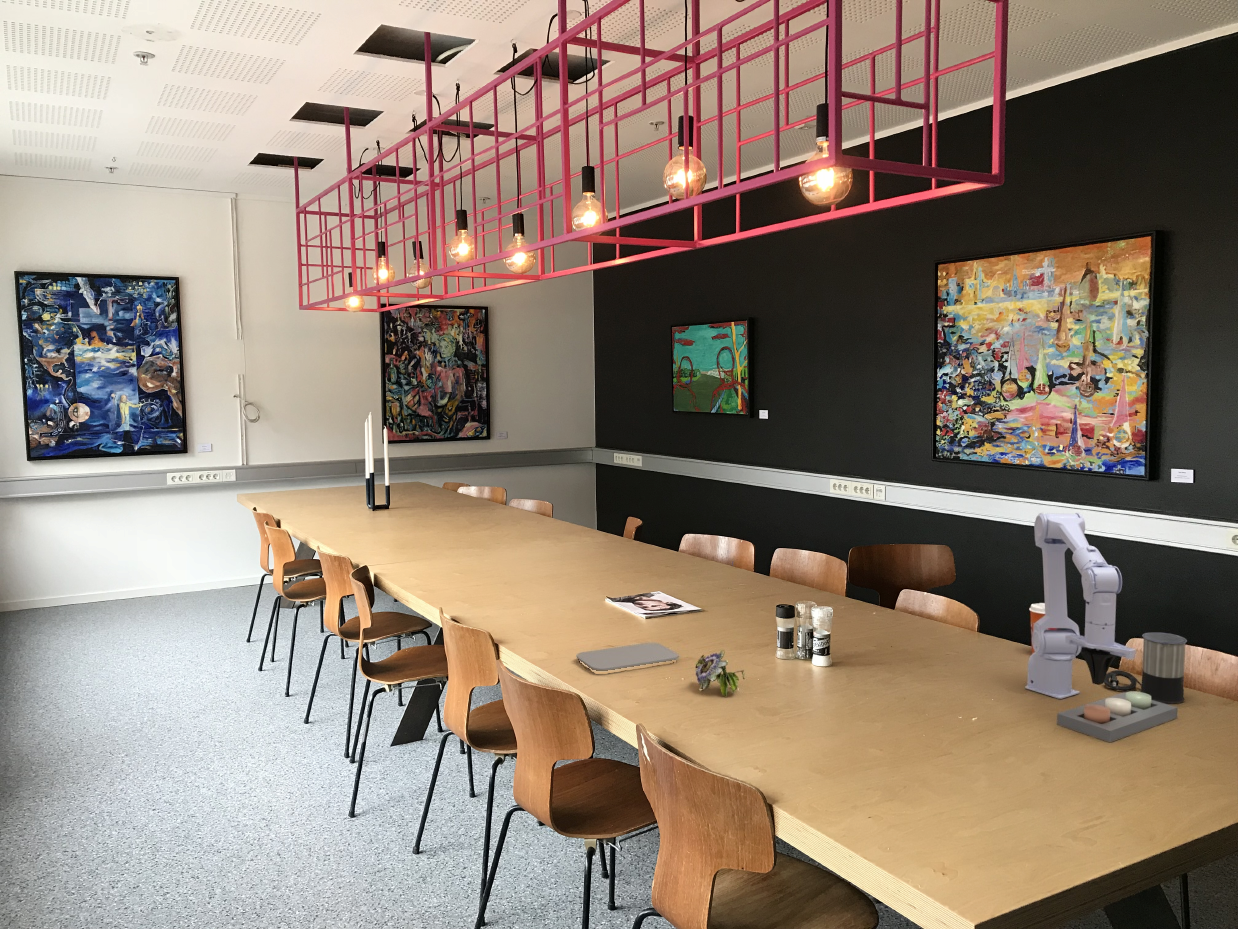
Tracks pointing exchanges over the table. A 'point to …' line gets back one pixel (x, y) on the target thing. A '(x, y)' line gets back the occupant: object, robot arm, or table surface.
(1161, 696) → the milk frother
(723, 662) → the passion flower
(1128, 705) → the button cream
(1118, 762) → the table surface
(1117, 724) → the button board
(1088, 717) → the button terracotta
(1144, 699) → the button sage
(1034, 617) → the paper cup
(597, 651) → the tablet
